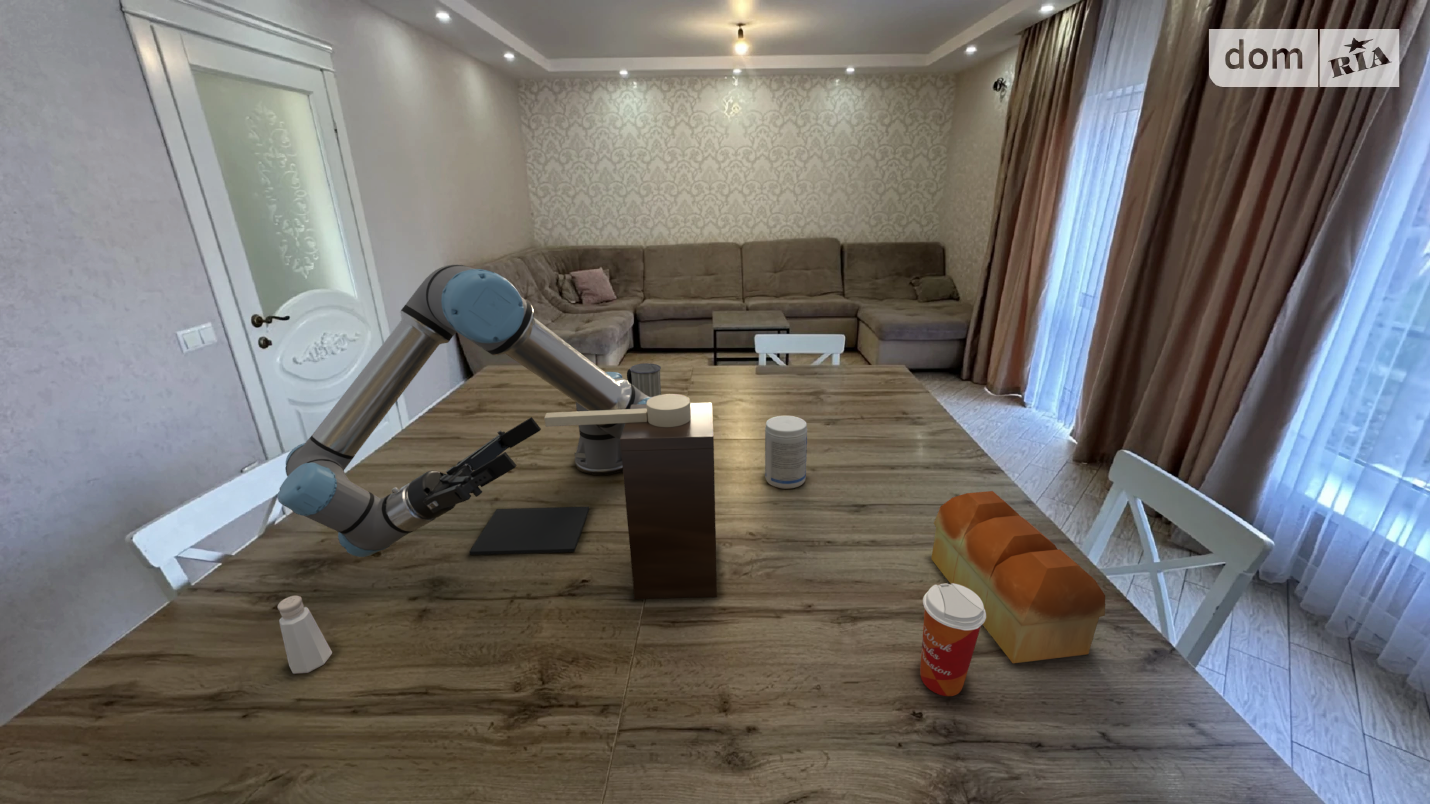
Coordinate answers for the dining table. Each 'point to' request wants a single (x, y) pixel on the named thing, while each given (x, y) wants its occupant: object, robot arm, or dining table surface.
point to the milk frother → (645, 378)
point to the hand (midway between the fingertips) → (524, 440)
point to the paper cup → (949, 636)
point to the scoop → (631, 414)
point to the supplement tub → (785, 451)
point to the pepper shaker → (302, 637)
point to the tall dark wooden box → (671, 506)
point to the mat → (531, 531)
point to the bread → (1017, 579)
